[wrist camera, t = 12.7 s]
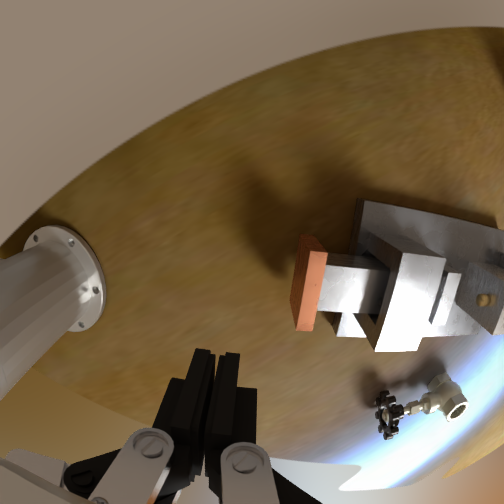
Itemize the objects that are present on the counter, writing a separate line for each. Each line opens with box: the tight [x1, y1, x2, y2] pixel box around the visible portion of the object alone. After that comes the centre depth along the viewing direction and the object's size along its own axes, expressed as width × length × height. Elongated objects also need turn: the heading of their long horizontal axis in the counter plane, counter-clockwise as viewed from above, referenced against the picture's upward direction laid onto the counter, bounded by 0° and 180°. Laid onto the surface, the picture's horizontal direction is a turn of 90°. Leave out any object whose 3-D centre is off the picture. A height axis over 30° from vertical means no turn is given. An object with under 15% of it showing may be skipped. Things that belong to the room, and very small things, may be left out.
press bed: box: [332, 198, 504, 352], centre depth 23 cm, size 20×13×8 cm, turn 84°
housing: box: [457, 261, 504, 335], centre depth 22 cm, size 6×5×7 cm
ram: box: [290, 234, 461, 331], centre depth 22 cm, size 14×6×5 cm, turn 84°
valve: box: [375, 372, 468, 440], centre depth 28 cm, size 7×7×12 cm
